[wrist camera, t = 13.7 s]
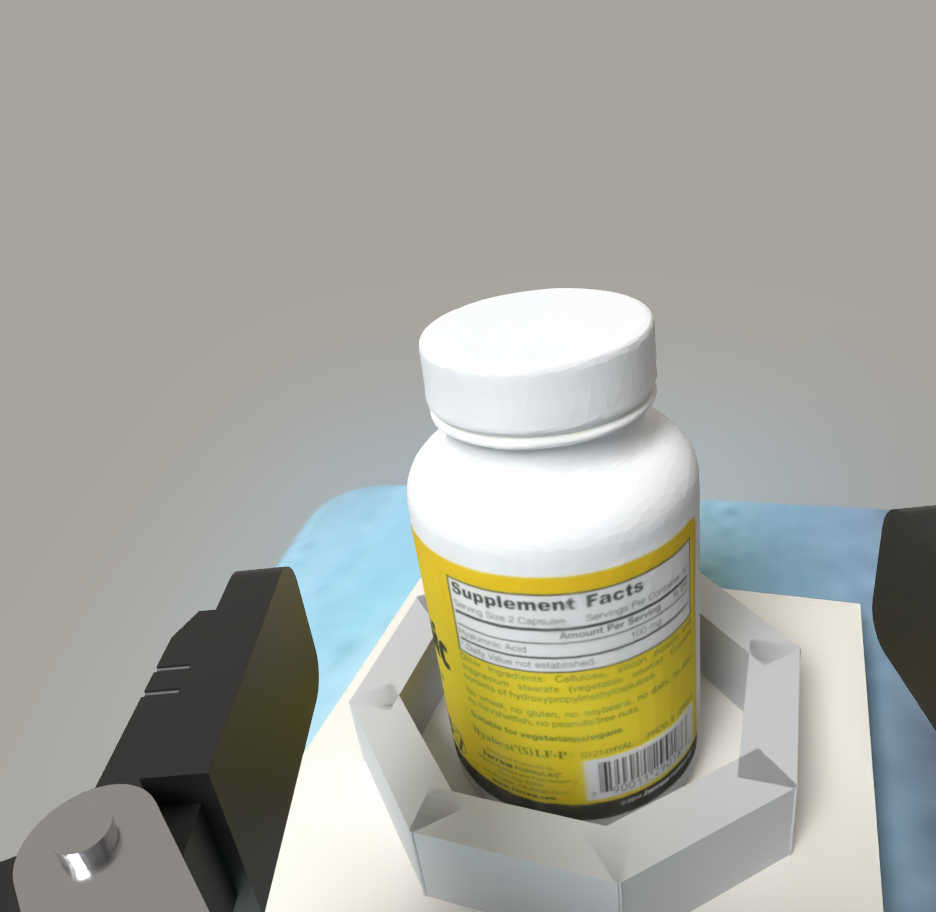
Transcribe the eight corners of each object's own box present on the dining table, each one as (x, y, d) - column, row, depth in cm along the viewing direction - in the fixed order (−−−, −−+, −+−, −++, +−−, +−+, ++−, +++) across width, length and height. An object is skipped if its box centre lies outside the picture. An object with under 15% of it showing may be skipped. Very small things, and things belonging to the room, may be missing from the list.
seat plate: (856, 634, 21) (867, 546, 20) (892, 1173, 12) (917, 1069, 10) (439, 581, 26) (426, 506, 24) (212, 943, 16) (171, 849, 15)
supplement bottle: (498, 643, 21) (448, 277, 17) (712, 675, 19) (720, 271, 15) (415, 813, 17) (319, 379, 12) (682, 878, 15) (680, 389, 11)
